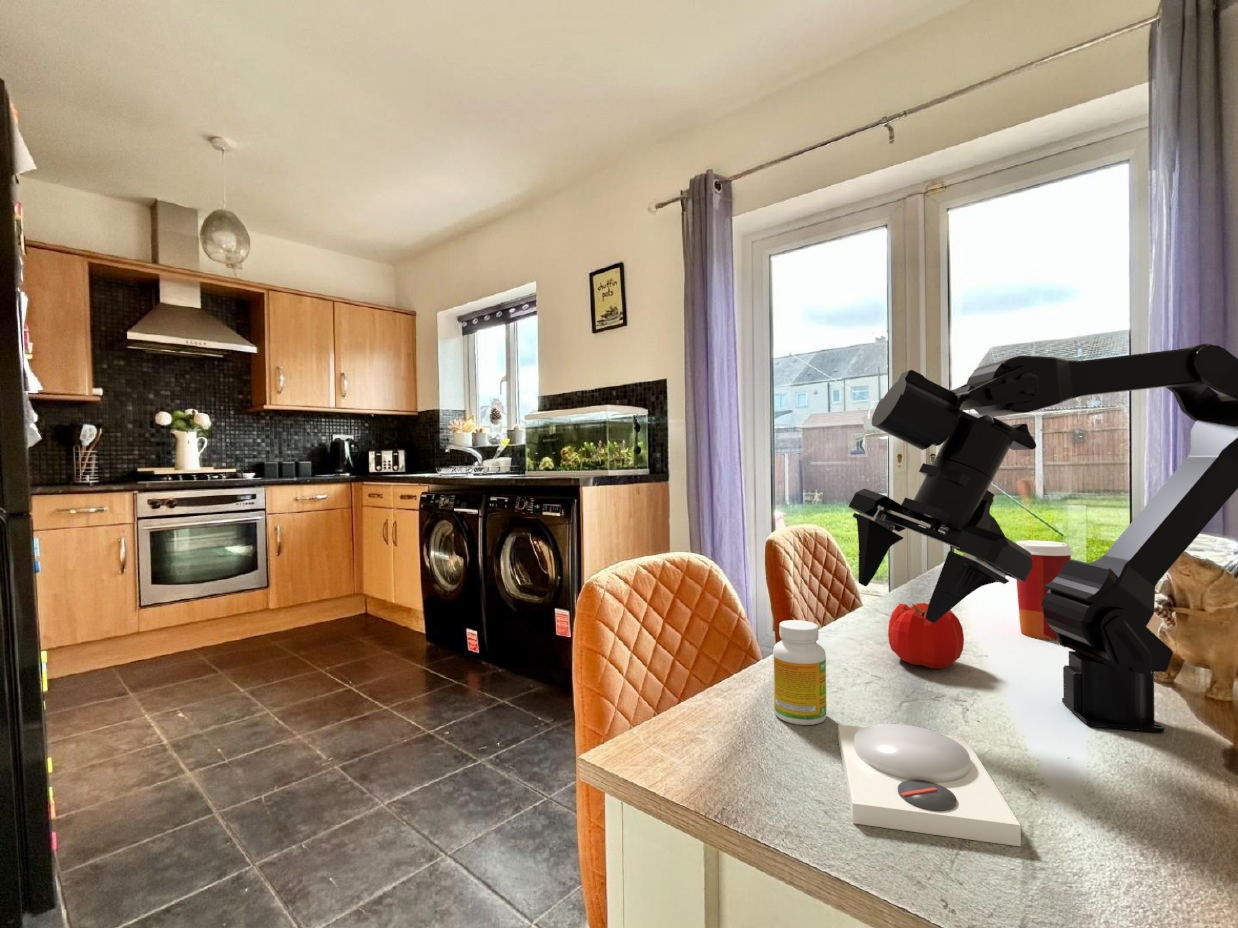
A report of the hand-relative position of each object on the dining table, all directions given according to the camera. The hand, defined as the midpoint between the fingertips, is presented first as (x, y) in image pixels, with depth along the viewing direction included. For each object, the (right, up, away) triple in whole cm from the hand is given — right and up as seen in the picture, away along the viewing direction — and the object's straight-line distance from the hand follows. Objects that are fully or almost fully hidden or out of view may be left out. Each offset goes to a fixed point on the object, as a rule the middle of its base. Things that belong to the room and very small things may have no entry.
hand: (893, 601), depth 64 cm
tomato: (+11, -12, +16) cm, 23 cm away
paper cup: (+35, -12, +28) cm, 47 cm away
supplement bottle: (-10, -12, +1) cm, 16 cm away
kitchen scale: (-4, -12, -13) cm, 19 cm away
